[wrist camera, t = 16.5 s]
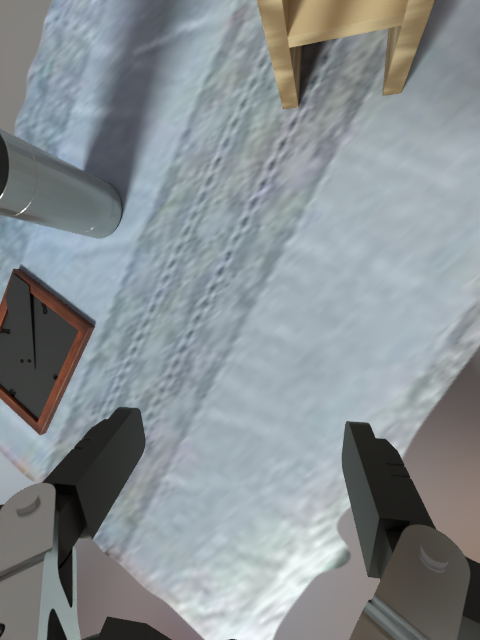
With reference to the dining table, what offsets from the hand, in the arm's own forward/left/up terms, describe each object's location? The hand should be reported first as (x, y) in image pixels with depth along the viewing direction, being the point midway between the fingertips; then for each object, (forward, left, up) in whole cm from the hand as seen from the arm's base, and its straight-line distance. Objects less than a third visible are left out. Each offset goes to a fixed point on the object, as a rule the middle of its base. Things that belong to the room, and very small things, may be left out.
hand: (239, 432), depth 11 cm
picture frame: (-51, -8, -31) cm, 60 cm away
